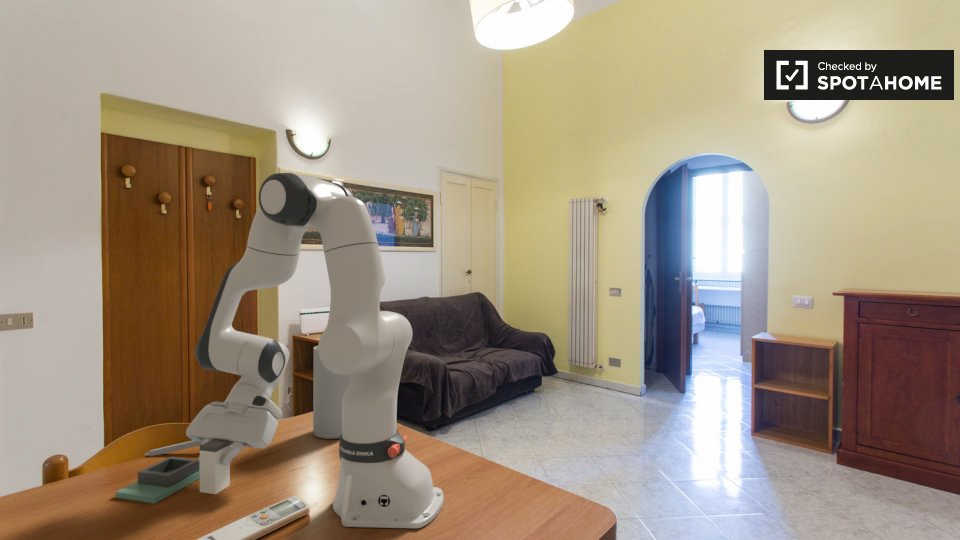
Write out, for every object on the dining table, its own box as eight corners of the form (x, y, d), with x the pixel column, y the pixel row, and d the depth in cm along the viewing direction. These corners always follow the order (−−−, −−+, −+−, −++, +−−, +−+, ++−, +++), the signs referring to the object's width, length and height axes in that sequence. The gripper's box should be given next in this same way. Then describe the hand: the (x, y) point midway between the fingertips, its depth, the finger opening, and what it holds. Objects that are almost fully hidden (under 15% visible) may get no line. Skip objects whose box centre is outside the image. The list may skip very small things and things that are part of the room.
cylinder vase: (314, 426, 135) (314, 343, 135) (357, 422, 139) (357, 342, 138) (311, 442, 123) (312, 351, 123) (358, 437, 127) (359, 349, 126)
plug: (229, 485, 99) (229, 440, 99) (215, 494, 95) (215, 447, 95) (214, 483, 100) (214, 438, 100) (199, 492, 96) (199, 445, 96)
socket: (216, 468, 107) (216, 453, 107) (154, 503, 91) (154, 485, 91) (182, 464, 109) (182, 449, 109) (115, 497, 93) (115, 479, 93)
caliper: (232, 450, 118) (232, 426, 118) (230, 451, 117) (230, 428, 117) (145, 455, 114) (145, 431, 114) (143, 457, 113) (143, 432, 113)
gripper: (201, 394, 106) (163, 452, 97) (276, 400, 102) (245, 462, 92) (216, 407, 111) (181, 463, 101) (288, 414, 106) (260, 473, 97)
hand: (212, 463), depth 97 cm, fingers closed on plug, 4 cm apart
